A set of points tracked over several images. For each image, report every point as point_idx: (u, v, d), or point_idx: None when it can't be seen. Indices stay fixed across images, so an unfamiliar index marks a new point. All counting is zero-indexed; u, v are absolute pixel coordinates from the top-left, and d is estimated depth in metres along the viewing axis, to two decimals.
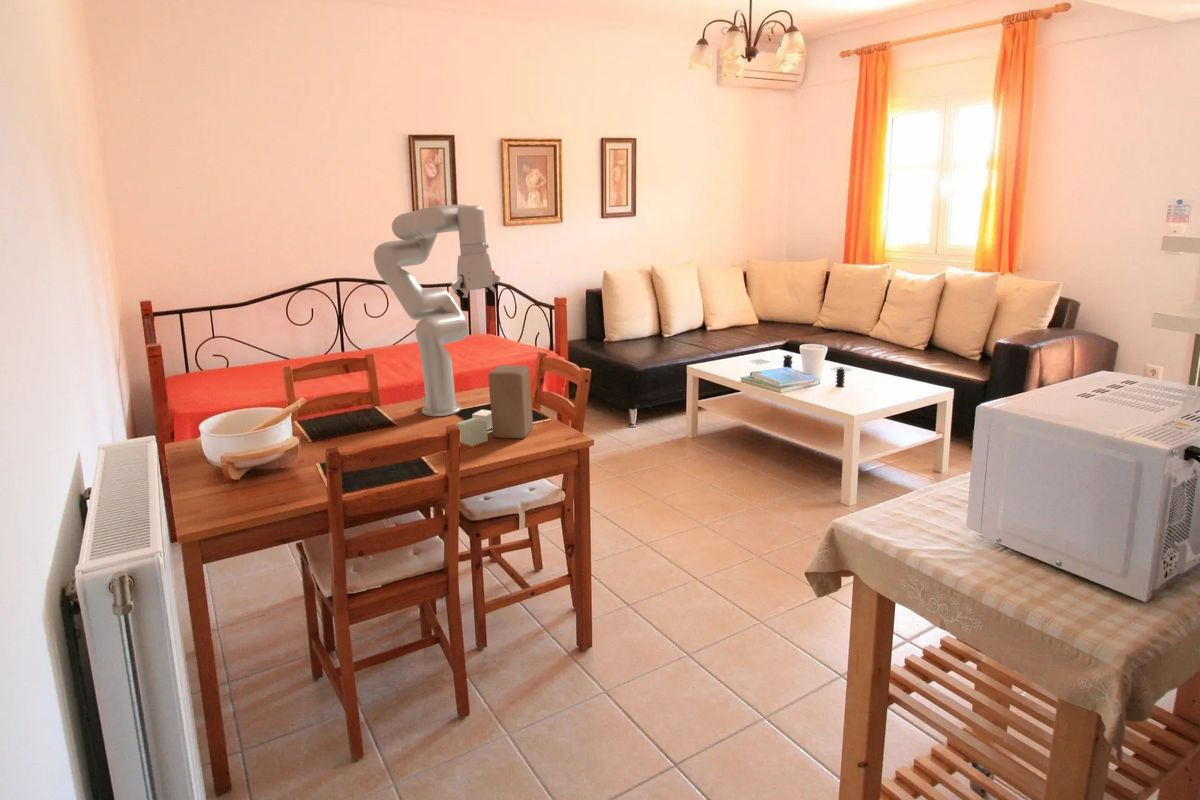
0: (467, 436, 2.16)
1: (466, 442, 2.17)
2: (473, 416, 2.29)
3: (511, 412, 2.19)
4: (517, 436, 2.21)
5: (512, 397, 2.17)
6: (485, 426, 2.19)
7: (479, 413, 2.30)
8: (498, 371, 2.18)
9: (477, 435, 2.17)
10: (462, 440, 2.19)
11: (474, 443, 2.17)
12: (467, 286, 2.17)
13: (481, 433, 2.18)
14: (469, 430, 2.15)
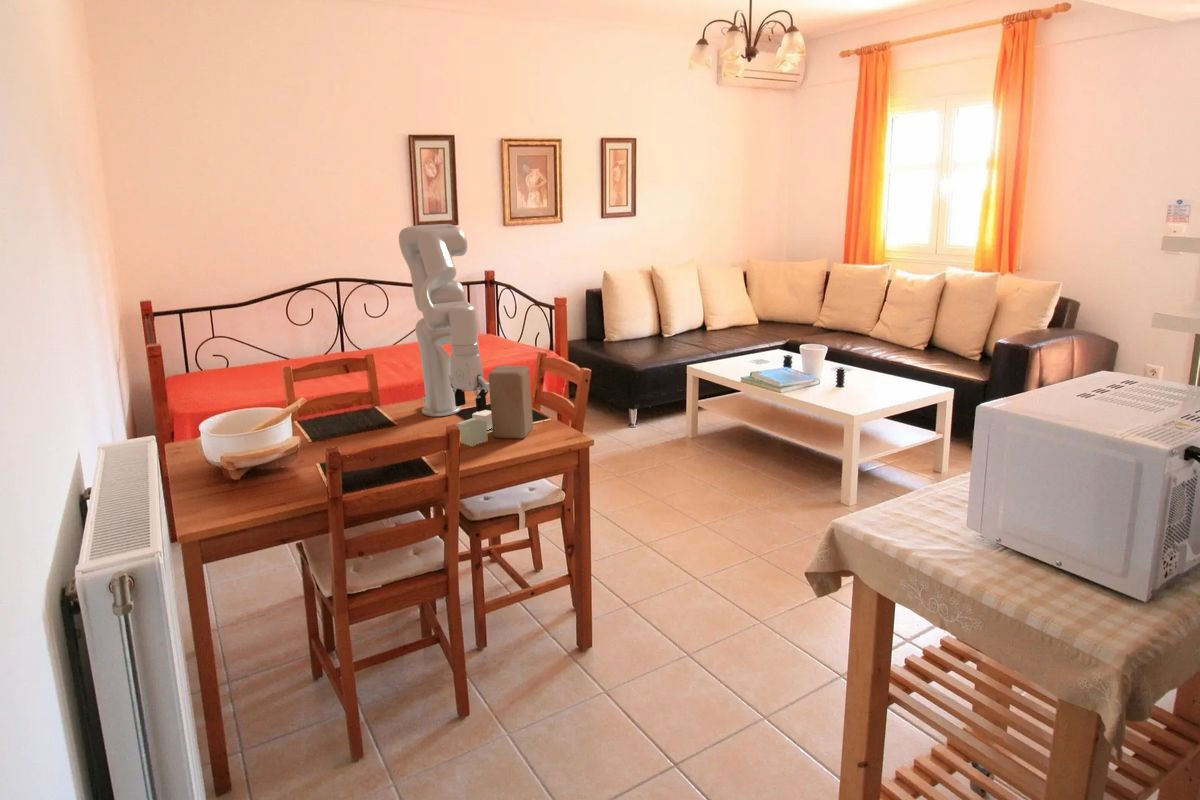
0: (467, 436, 2.16)
1: (466, 442, 2.17)
2: (473, 416, 2.29)
3: (511, 412, 2.19)
4: (517, 436, 2.21)
5: (512, 397, 2.17)
6: (485, 426, 2.19)
7: (479, 413, 2.30)
8: (498, 371, 2.18)
9: (477, 435, 2.17)
10: (462, 440, 2.19)
11: (474, 443, 2.17)
12: None
13: (481, 433, 2.18)
14: (469, 430, 2.15)
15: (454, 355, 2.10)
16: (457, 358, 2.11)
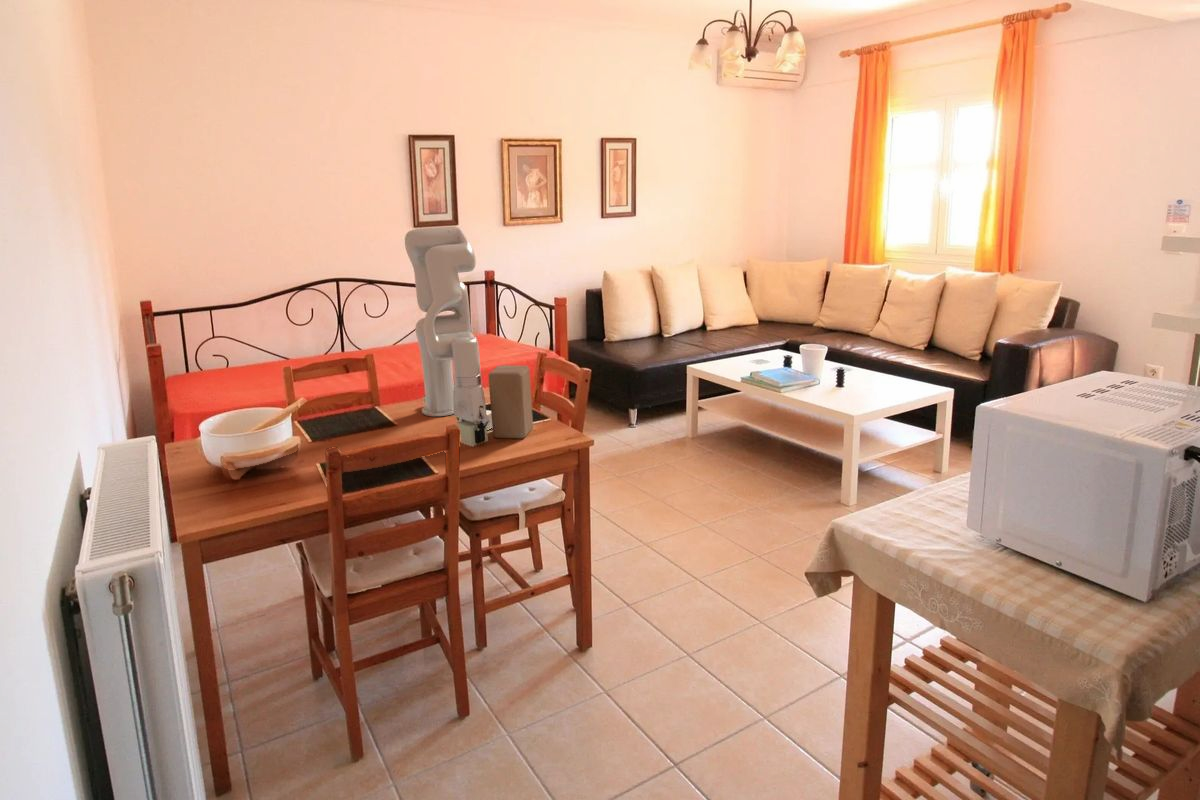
0: (467, 435, 2.16)
1: (466, 442, 2.17)
2: None
3: (511, 412, 2.19)
4: (517, 436, 2.21)
5: (512, 397, 2.17)
6: None
7: None
8: (498, 371, 2.18)
9: None
10: (462, 440, 2.19)
11: (474, 443, 2.17)
12: None
13: None
14: (469, 429, 2.15)
15: (457, 386, 2.13)
16: (460, 389, 2.14)
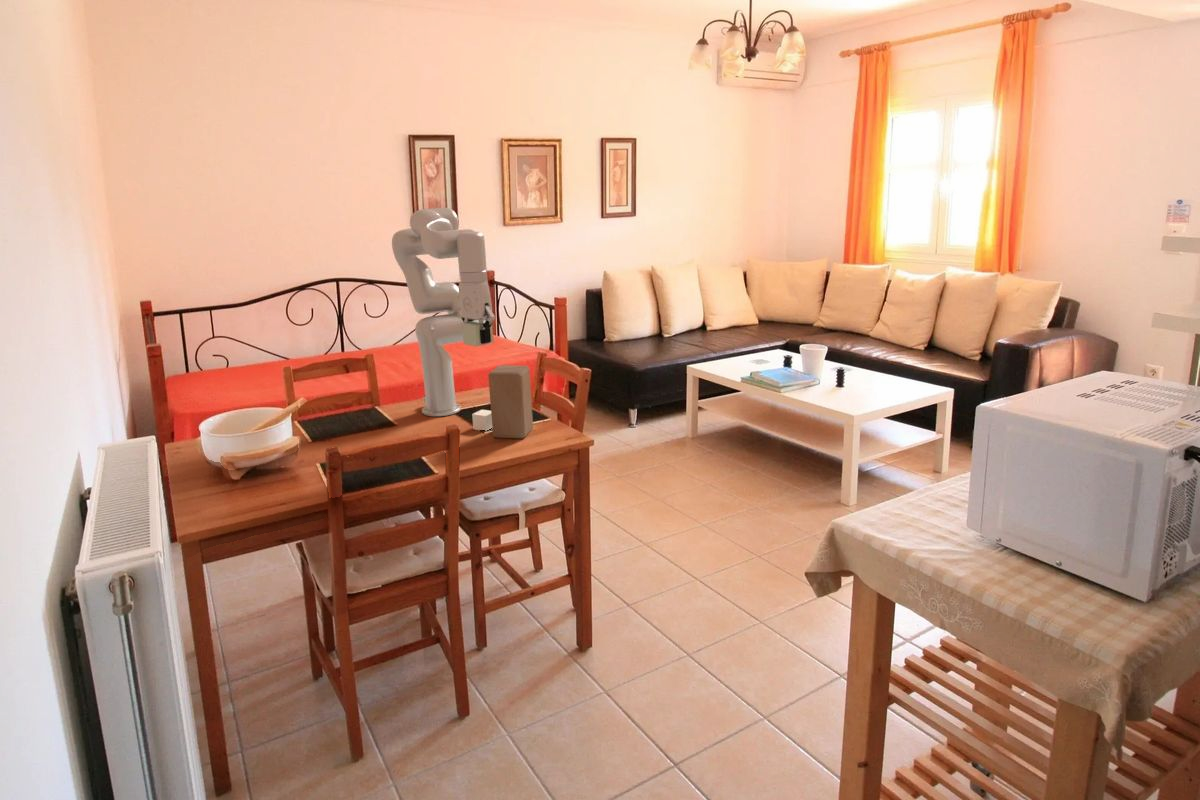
0: (472, 335, 2.10)
1: (471, 342, 2.11)
2: (473, 416, 2.29)
3: (511, 412, 2.19)
4: (517, 436, 2.21)
5: (512, 397, 2.17)
6: (491, 326, 2.12)
7: (479, 413, 2.30)
8: (498, 371, 2.18)
9: None
10: (467, 340, 2.12)
11: (479, 343, 2.10)
12: None
13: None
14: (474, 328, 2.08)
15: (462, 282, 2.06)
16: (465, 286, 2.07)
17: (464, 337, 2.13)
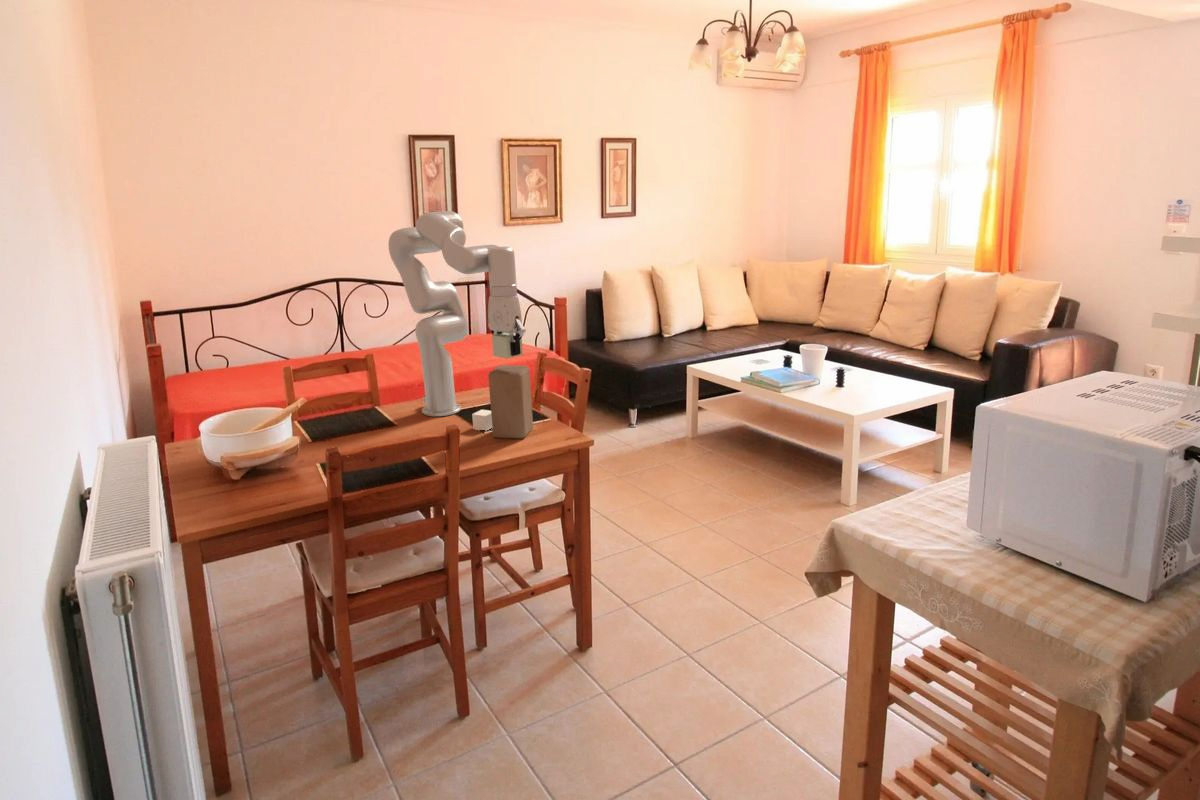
0: (503, 347, 2.15)
1: (501, 354, 2.16)
2: (473, 416, 2.29)
3: (511, 412, 2.19)
4: (517, 436, 2.21)
5: (512, 397, 2.17)
6: None
7: (479, 413, 2.30)
8: (498, 371, 2.18)
9: None
10: (497, 353, 2.17)
11: (509, 355, 2.15)
12: None
13: None
14: (505, 341, 2.13)
15: (493, 296, 2.11)
16: (495, 300, 2.13)
17: (494, 349, 2.18)
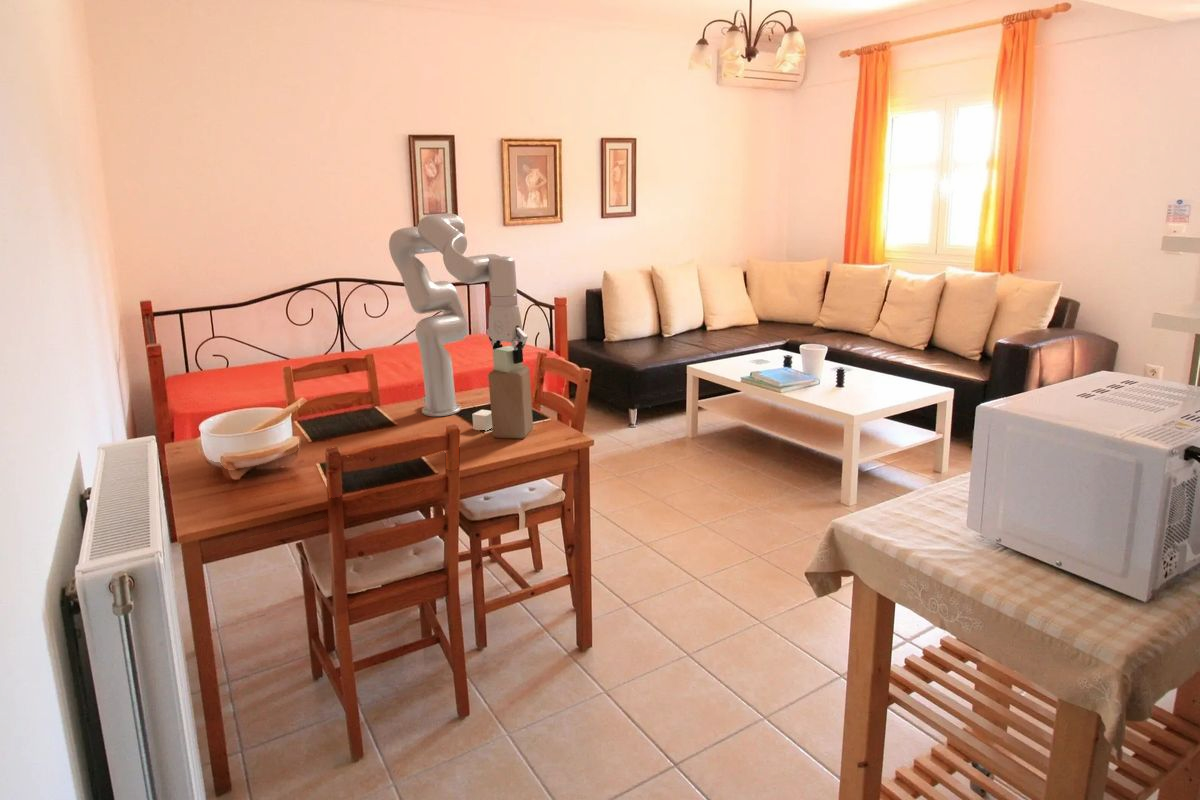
0: (503, 361, 2.16)
1: (502, 368, 2.17)
2: (473, 416, 2.29)
3: (511, 412, 2.19)
4: (517, 436, 2.21)
5: (512, 397, 2.17)
6: None
7: (479, 413, 2.30)
8: (498, 371, 2.18)
9: None
10: (498, 366, 2.19)
11: (510, 369, 2.17)
12: None
13: None
14: (505, 355, 2.15)
15: (493, 306, 2.12)
16: (496, 309, 2.13)
17: (495, 363, 2.19)
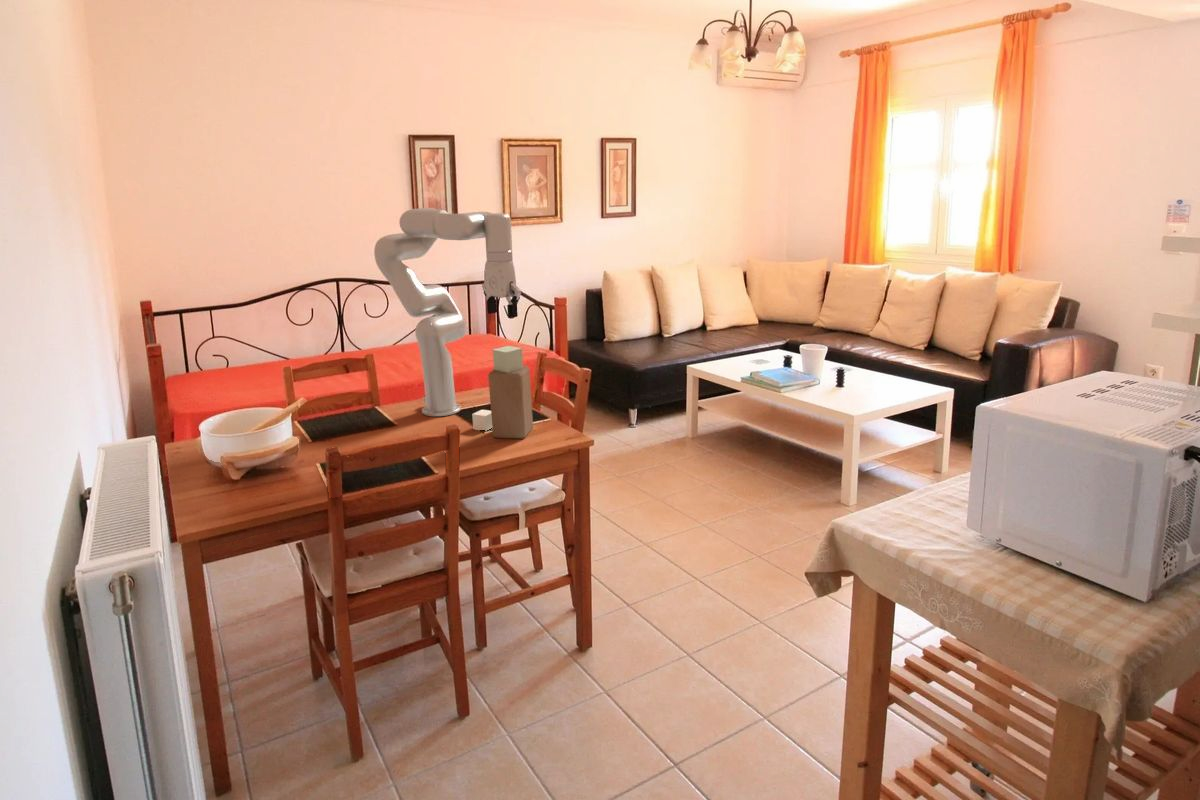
0: (503, 361, 2.16)
1: (502, 368, 2.17)
2: (473, 416, 2.29)
3: (511, 412, 2.19)
4: (517, 436, 2.21)
5: (512, 397, 2.17)
6: (521, 353, 2.19)
7: (479, 413, 2.30)
8: (498, 371, 2.18)
9: (513, 361, 2.17)
10: (498, 367, 2.18)
11: (510, 369, 2.17)
12: None
13: (517, 360, 2.18)
14: (505, 355, 2.15)
15: (488, 261, 2.17)
16: (491, 265, 2.18)
17: (495, 363, 2.19)
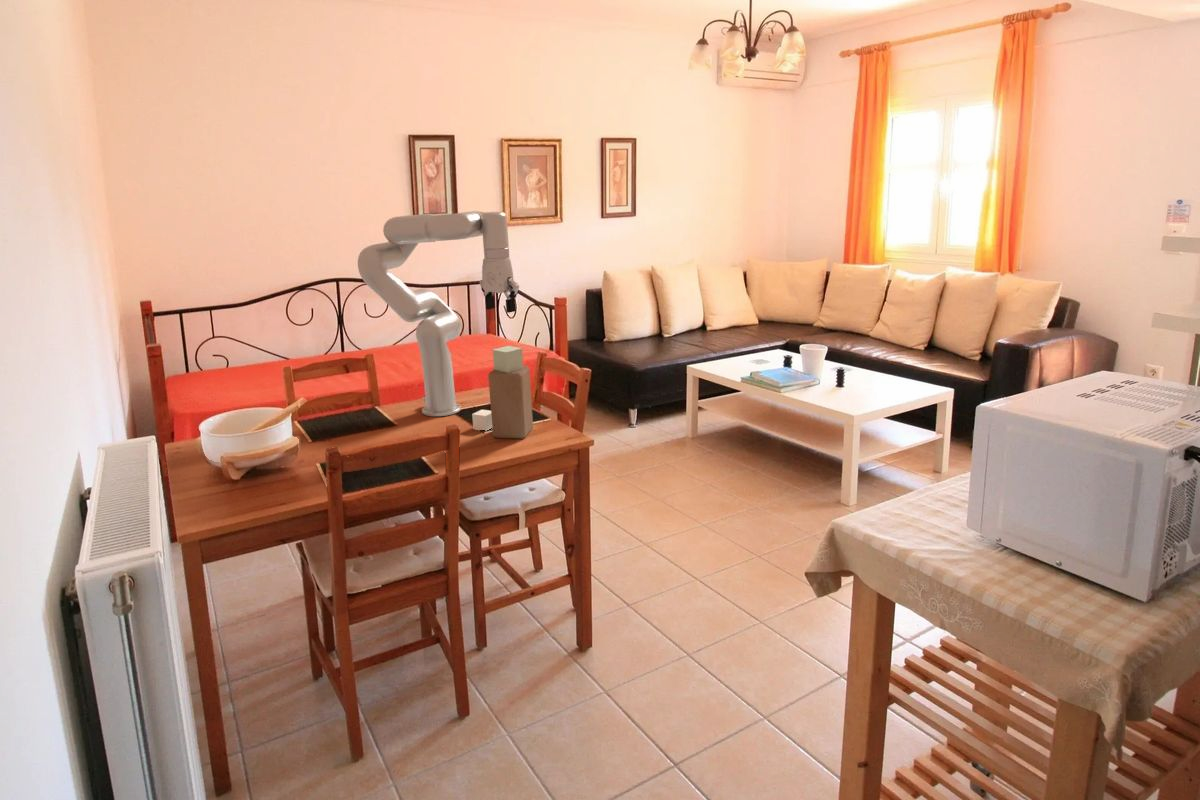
0: (503, 361, 2.16)
1: (502, 368, 2.17)
2: (473, 416, 2.29)
3: (511, 412, 2.19)
4: (517, 436, 2.21)
5: (512, 397, 2.17)
6: (521, 353, 2.19)
7: (479, 413, 2.30)
8: (498, 371, 2.18)
9: (513, 361, 2.17)
10: (498, 366, 2.18)
11: (510, 369, 2.17)
12: None
13: (517, 360, 2.18)
14: (505, 355, 2.15)
15: (486, 258, 2.25)
16: (489, 262, 2.26)
17: (495, 363, 2.19)
